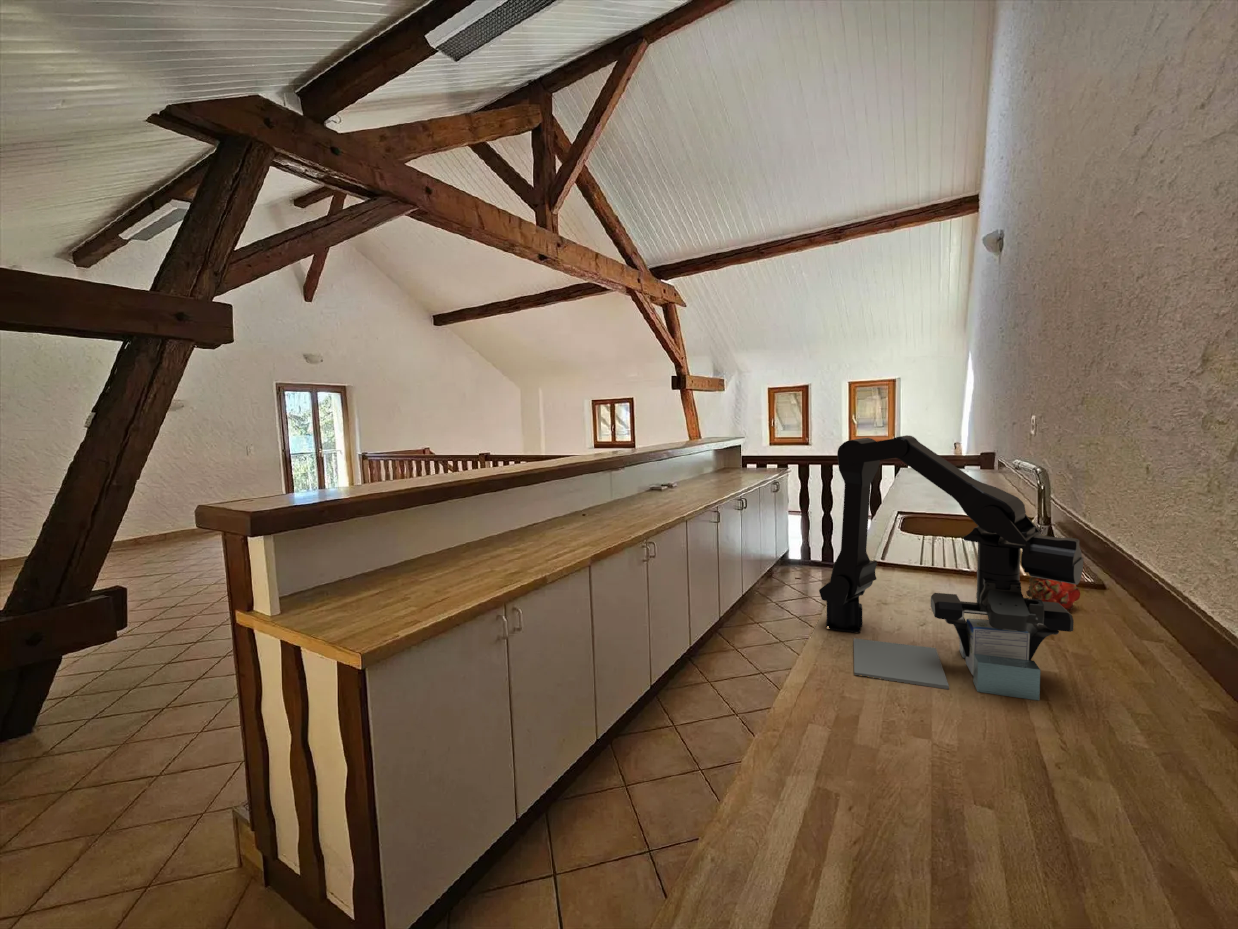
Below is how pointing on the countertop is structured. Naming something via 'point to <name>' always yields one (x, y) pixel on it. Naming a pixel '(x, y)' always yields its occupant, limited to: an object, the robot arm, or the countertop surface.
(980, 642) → the medicine box
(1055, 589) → the dragon fruit
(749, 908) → the countertop surface
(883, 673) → the rubber mat
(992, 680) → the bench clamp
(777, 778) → the countertop surface
